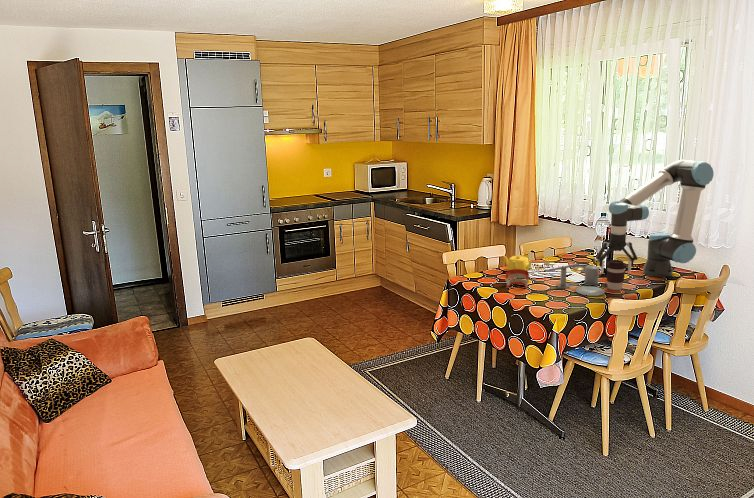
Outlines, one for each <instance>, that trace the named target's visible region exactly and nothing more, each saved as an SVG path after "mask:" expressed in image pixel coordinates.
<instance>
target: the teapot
mask: <svg viewBox="0 0 754 498" xmlns="http://www.w3.org/2000/svg"><path fill="white" fill-rule="evenodd" d="M502 257H503V258H504V260H505V264H506V266H507V271H508V270H513V269H521V270H526V271H528V272H529V270H530V268H531V267H532V263H533V261H534V260H535V258H531V259H530V260H529V258H528V257H526V256H525V253H522V254H521V255H519V254H518V255H513V256H511V257H509V258H508V257H507V256H506V255H502Z"/></svg>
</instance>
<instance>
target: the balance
mask: <svg viewBox="0 0 754 498" xmlns="http://www.w3.org/2000/svg"><path fill="white" fill-rule="evenodd" d="M543 264H544V265H546V266H554V265H556V263H555V262H554V261H544V263H543ZM569 268H572V271H574V272H583V271H585V267H582V266H580V263H574V264H568V265H561V266H560V267H559V266H558V267H554V268H549V269H548V272H552V271H553V272H554V271H558V270H560V282H558V283H556V287H557V289H570V288H571V286H570V284H569V283H567V269H569Z"/></svg>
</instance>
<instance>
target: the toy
mask: <svg viewBox="0 0 754 498" xmlns="http://www.w3.org/2000/svg"><path fill="white" fill-rule="evenodd" d="M505 283H506V286H505V287H506V288H507V289H508V288H509V287H510V286H511V285H522V286H524V289H525V290H527V289H528V283H530V273H529V270H528V271H526V270H521V269H513V270H507V271H506V272H505Z"/></svg>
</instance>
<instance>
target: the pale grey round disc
mask: <svg viewBox="0 0 754 498" xmlns="http://www.w3.org/2000/svg"><path fill="white" fill-rule="evenodd" d="M575 292H576V293H578V294H580V295H583V296H586V295H587V296H589V297H597V296H602V295H604V294H605V293H606V291H605V290H604V288H601V287H598V286H594V285H585V286H578V287H577V288H576V289H575Z"/></svg>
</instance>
